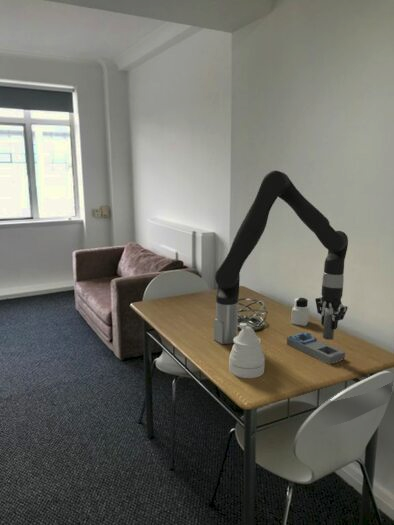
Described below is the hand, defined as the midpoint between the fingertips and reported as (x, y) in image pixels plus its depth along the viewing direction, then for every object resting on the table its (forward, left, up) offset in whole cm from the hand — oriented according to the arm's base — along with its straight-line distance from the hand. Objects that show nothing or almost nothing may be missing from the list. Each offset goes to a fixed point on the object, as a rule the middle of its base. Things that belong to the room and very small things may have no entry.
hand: (329, 327), depth 163 cm
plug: (0, 0, -4) cm, 4 cm away
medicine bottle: (+19, +33, -13) cm, 40 cm away
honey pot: (-33, +9, -13) cm, 36 cm away
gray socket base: (0, +6, -13) cm, 14 cm away
